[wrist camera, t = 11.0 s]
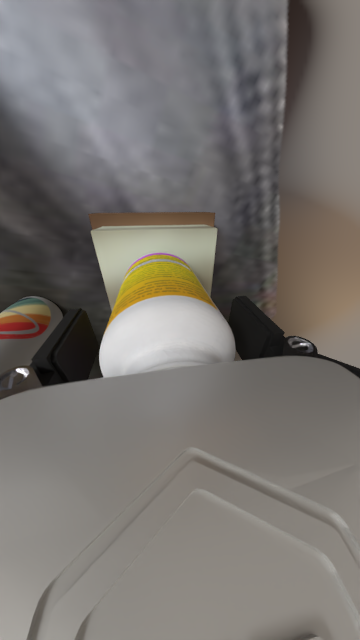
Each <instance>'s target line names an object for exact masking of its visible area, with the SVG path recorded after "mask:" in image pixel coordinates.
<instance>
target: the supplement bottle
mask: <svg viewBox="0 0 360 640" xmlns="http://www.w3.org/2000/svg"><path fill="white" fill-rule="evenodd" d="M235 353H236V347H235V339H234V336H233V333H232V330H231V328H230V326H229V324H228V323H227V321H226V320H225V319H224V317H223V316H222V314H221V313H220V311H219V310H218V308H217V307H216V305H215V304H214V302H213V301H212V299H211V298H210V296H209V295H208V293H207V292H206V290H205V289H204V287H203V286H202V284H201V283H200V281H199V279H198V278H197V276H196V275H195V273H194V272H193V270H192V269H191V267H190V266H189V265H188V264H187V263H186V262H185V261H184V260H183V259H182V258H180V257H178V256H176V255H174V254H172V253H168V252H152V253H148V254H145V255H143V256H141V257H140V258H138V259H137V260H135V261H134V262H133V263H132V264H131V266H130V267H129V268H128V270H127V272H126V274H125V277H124V279H123V282H122V285H121V288H120V291H119V294H118V297H117V299H116V302H115V305H114V308H113V311H112V314H111V317H110V319H109V322H108V325H107V328H106V330H105V333H104V336H103V339H102V342H101V346H100V351H99V363H100V368H101V372H102V374H103V377H112V376H119V375H127V374H135V373H143V372H150V371H158V370H166V369H174V368H182V367H190V366H198V365H207V364H215V363H223V362H232V361H234V359H235Z"/></svg>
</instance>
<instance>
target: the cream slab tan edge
mask: <svg viewBox="0 0 360 640" xmlns="http://www.w3.org/2000/svg"><path fill="white" fill-rule="evenodd" d="M88 215H89V218H90V222H91V226H92V231H91V235H92V239H93V243H94V246H95V250H96V254H97V257H98V261H99V265H100V269H101V272H102V276H103V280H104V284H105V287H106V291H107V295H108V299H109V302H110V306H111V310H112V311H113V308H114V305H115V302H116V299H117V297H118V294H119V291H120V288H121V285H122V282H123V279H124V277H125V274H126V272H127V270H128V268H129V267H130V266H131V264H132V263H133V262H134V261H135V260H137V259H138V258H140V257H141V256H143V255H145V254H148V253H152V252H168V253H172V254H174V255H176V256H178V257H180V258H182V259H183V260H184V261H185V262H186V263H187V264H188V265H189V266H190V267H191V269H192V270H193V272H194V273H195V275H196V276H197V278H198V279H199V281H200V283H201V284H202V286H203V287H204V289H205V290H206V292H207V293H208V295H209V296H210V295H211V286H212V276H213V267H214V258H215V248H216V239H217V229H218V228H215V227H214V219H215V213H210V212H156V213H94V214H88Z"/></svg>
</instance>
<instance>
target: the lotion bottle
mask: <svg viewBox="0 0 360 640" xmlns="http://www.w3.org/2000/svg"><path fill="white" fill-rule="evenodd" d="M62 319H63V315H62V312H61V310H60V309H59V308H58V306H56V305H55V304H54V303H53V302H51V301H49V300H47V299H45V298H42V297H36V296H30V297H25V298H23V299H21V300H19V301H17V302H16V303H14V304H13V305H11V306H10V307H9V308H7V309H6V310H4V311H3V312H1V313H0V374H2V373H4V372H5V371H7V370H9V369H12V368H14V367H18V366H23V365H27V366H29V365H30V364H31V363H32V360H31V359H32V358H33V356H34V355H35V354H36V352H37V351H38V350H39V349H40V347H41V346H42V345H43V343H44V342H45V341H46V339H47V338H48V337H49V335H50V334H51V333H52V332H53V330H54V329H55V328H56V326H57V325H58V324H59V322H60V321H61V320H62Z"/></svg>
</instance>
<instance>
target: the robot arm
mask: <svg viewBox="0 0 360 640" xmlns="http://www.w3.org/2000/svg"><path fill="white" fill-rule="evenodd" d="M228 324H229V326H230V328H231V330H232V333H233V336H234V339H235V347H236V350H237V352H238V354H239V355H240V357H241V359H242V360H241V361H232V362H223V363H215V364H207V365H198V366H190V367H182V368H174V369H166V370H158V371H150V372H143V373H135V374H127V375H119V376H112V377H104V378H96V379H89V380H88V377H89V374H90V371H91V368H92V366H93V363H94V360H95V357H96V354H97V351H98V342H97V340H96V337H95V334H94V332H93V329H92V326H91V324H90V321H89V318H88V316H87V313H86V311H83V310H82V309H81V308H80V309H70V310H69V311H68V312H67V313H66V315H65V316H64V317H63V319H62V320H61V321H60V322H59V324H58V325H57V326H56V328H55V329H54V330H53V332H52V333H51V334H50V335H49V337H48V338H47V339H46V341H45V342H44V343H43V345H42V346H41V347H40V349H39V350H38V351H37V352H36V354H35V355H34V356H33V358H32V359H31V360H32V363H31V364H30V365H29V366H27V365H23V366H18V367H14V368H12V369H9V370H7V371H5V372H4V373H2V374H0V640H360V369H359V368H356V367H354V366H351V365H348V364H345V363H342V362H339V361H337V360H334V359H331V358H328V357H326V356H323V355H320V354H318V352H317V348H316V346H315V345H314V344H313V343H312V342H310V341H309V340H307V339H305V338H302V337H298V336H288V337H286V338H285V337H284V336H283V335H284V331H283V330H281V329H280V328H279V327H278V326H277V325H276V324H275V323H274V322H273V321H272V320H271V319H270V318H269V317H268V316H266V315H265V314H264V313H263V312H262V311H261V310H260V309H259V308H258V307H257V306H256V305H255V304H254V303H252V302H251V301H250V300H249V299H248V298H247V297H246V296H240V297H236V298H235V299H233V302H232V307H231V312H230V317H229V322H228Z"/></svg>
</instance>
